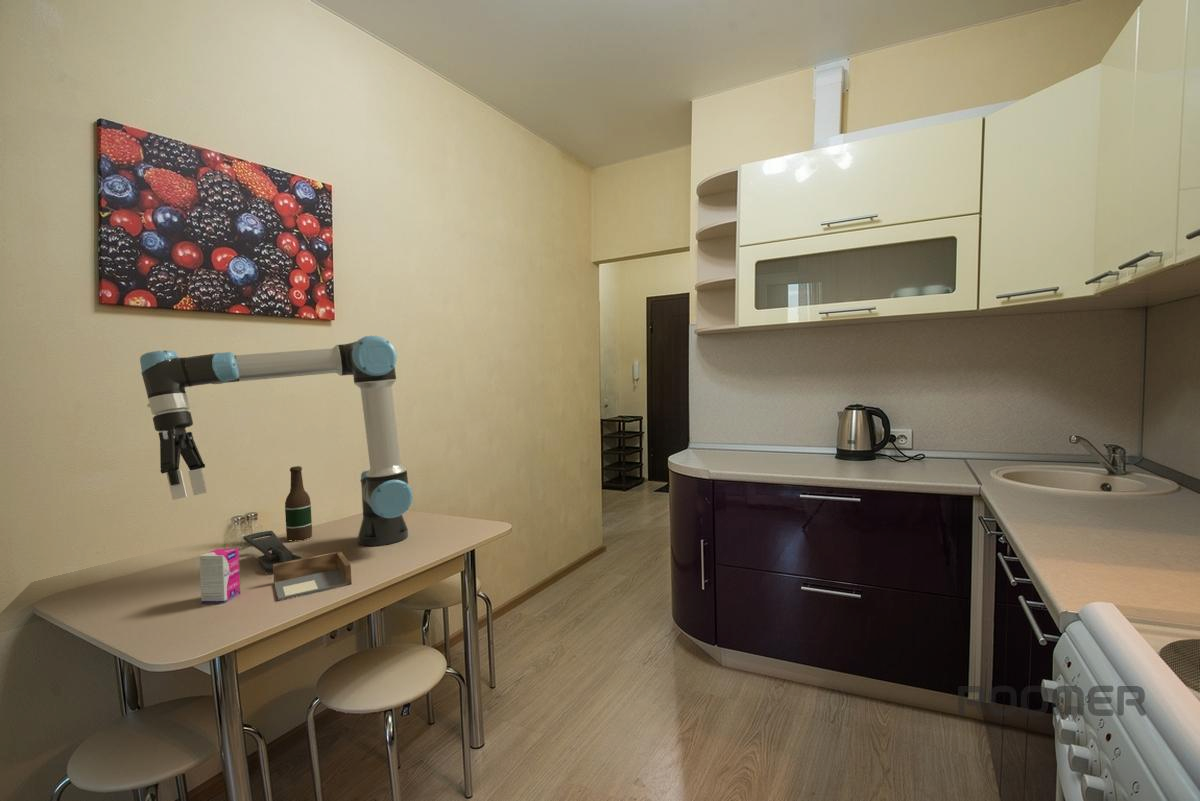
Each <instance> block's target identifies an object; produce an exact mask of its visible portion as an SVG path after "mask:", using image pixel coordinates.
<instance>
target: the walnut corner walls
mask: <svg viewBox="0 0 1200 801" xmlns="http://www.w3.org/2000/svg"><path fill="white" fill-rule="evenodd" d="M336 569H338V570H339V572H340V574H341V575H342V577H343V578H344V580H345V582H346V586H349V585H350V583H351V585H352V566H351V563H350V562H349V560H348V559H347V558H346V556H345V555H344V553H343V552H342V551H341V550H340V551H339V550H338V551H335V552H330V553H325V554H320V555H314V556H309V557H308V556H307V557H304V558H301V559H298V560H293V561H288V562H282V563H277V564H273V574H272V575H273V583H274V582H279V581H284V580H289V579H293V578H298V577H303V576H307V575H312V574H317V573H322V572H326V571H331V570H336ZM347 583H349V585H348V584H347Z"/></svg>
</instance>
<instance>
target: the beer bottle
mask: <svg viewBox="0 0 1200 801" xmlns="http://www.w3.org/2000/svg"><path fill="white" fill-rule="evenodd" d="M302 471H303V467H302V466H299V465H298V466H296V465H295V466H291V467H290V468H289V472H290V489H289V490H290V491H289V493H288V495H287V496H286V499H285V502H284V504H285V505H284V515H285V528H286V529H285V530H286V533H285V534H286V540H287V541H288V540H292V541H295V540H303V541H305V540H304V539H306V540H308V539H307V538H309V539H311V538H312V536H313V524H312V523H313V522H312V506H311V504H312V503H311V498H310V496H309V493H308V492H307V491H306V490H305V488H304V482H303V474H302ZM310 537H311V538H310ZM292 541H291V542H292Z"/></svg>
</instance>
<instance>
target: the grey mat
mask: <svg viewBox="0 0 1200 801" xmlns="http://www.w3.org/2000/svg"><path fill="white" fill-rule="evenodd" d="M347 584H348V585H346V582H345V580H344V578H343V577H342V575H341V574H340V572H339V570H338V569H336V570H331V571H326V572H322V573H317V574H312V575H307V576H303V577H298V578H293V579H289V580H284V581H279V582H274V581H273V585H275V586H274V589H276V590H275V594H276V593H277V594H276V598H277V597H278V598H277V601H278V600H281V601H283V600H282V599H285V600H288V599H287V598H290V599H293V598H292V597H294V598H297V597H296V596H298V597H302V596H301V595H303V596H306V594H307V595H310V594H311V595H312V594H316V593H320V592H324V590H325V591H328V589H329V590H333V589H337V587H338V588H341V586H342V587H345V586H346V587H347V586H349V583H347ZM350 584H351V583H350ZM351 585H352V584H351ZM332 588H333V589H332Z"/></svg>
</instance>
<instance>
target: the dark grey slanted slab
mask: <svg viewBox="0 0 1200 801" xmlns="http://www.w3.org/2000/svg"><path fill="white" fill-rule="evenodd" d="M242 538H243V539H242V540H244V541H245V542H246V543H247V544H250V545H251V546H252V547H253V548H256V550H259V552H261V553H262V554H263V555H260V556H258V557H257V558H258V560H257V561H258V566H259V567H260V569H262V570H263V571H265V572H264V573H265V574H266V573H267V574H269V575H273V564H277V563H282V562H288V561H293V560H298V559H302V556H300V555H296V554H293V551H291V550H290V549H289V548H288V547H286V546H285V545H284V543H283V542H282V541H281V540H280V539H279V537H278V536H277V535H276V533H275V532H274V531H273V530H265V531H259V532H255V533H251V534H248V535H244V536H242ZM270 551H271V552H270ZM267 574H266V575H267Z"/></svg>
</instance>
